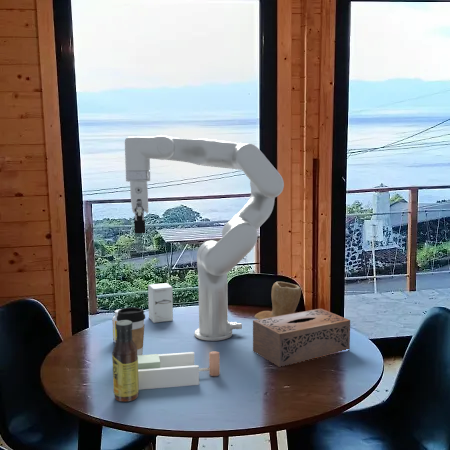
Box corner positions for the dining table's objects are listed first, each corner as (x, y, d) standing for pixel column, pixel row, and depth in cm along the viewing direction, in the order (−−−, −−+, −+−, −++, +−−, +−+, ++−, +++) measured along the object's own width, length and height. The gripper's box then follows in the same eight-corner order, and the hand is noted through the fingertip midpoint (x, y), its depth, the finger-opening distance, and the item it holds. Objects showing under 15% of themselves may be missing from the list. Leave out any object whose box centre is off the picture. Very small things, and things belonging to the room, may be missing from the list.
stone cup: (307, 326, 199) (308, 284, 197) (282, 333, 192) (282, 289, 190) (278, 315, 211) (278, 276, 209) (253, 322, 204) (253, 281, 202)
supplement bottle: (133, 341, 185) (132, 310, 184) (118, 345, 182) (117, 314, 180) (125, 337, 189) (124, 307, 188) (110, 340, 186) (108, 310, 184)
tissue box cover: (320, 338, 188) (320, 308, 186) (349, 351, 175) (350, 320, 174) (252, 352, 176) (252, 320, 174) (279, 367, 163) (279, 334, 162)
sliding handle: (217, 369, 161) (217, 348, 160) (221, 377, 155) (221, 356, 154) (137, 375, 157) (136, 354, 156) (137, 384, 151) (137, 362, 150)
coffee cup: (123, 365, 165) (121, 315, 163) (114, 356, 172) (112, 308, 170) (150, 360, 169) (149, 311, 167) (141, 351, 176) (139, 304, 174)
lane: (194, 368, 162) (193, 348, 161) (199, 384, 151) (198, 363, 151) (129, 373, 159) (128, 353, 158) (130, 390, 148) (129, 368, 147)
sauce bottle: (115, 392, 147) (112, 318, 144) (139, 391, 147) (137, 317, 145) (112, 404, 140) (109, 326, 138) (138, 403, 141) (135, 325, 138)
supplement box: (153, 323, 204) (152, 288, 202) (148, 317, 211) (147, 284, 209) (173, 321, 206) (172, 286, 205) (168, 315, 213) (167, 282, 211)
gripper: (151, 177, 170) (152, 234, 173) (149, 174, 187) (150, 226, 190) (125, 178, 169) (127, 235, 171) (126, 175, 186) (127, 227, 188)
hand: (139, 230), depth 181 cm, fingers open, 9 cm apart
